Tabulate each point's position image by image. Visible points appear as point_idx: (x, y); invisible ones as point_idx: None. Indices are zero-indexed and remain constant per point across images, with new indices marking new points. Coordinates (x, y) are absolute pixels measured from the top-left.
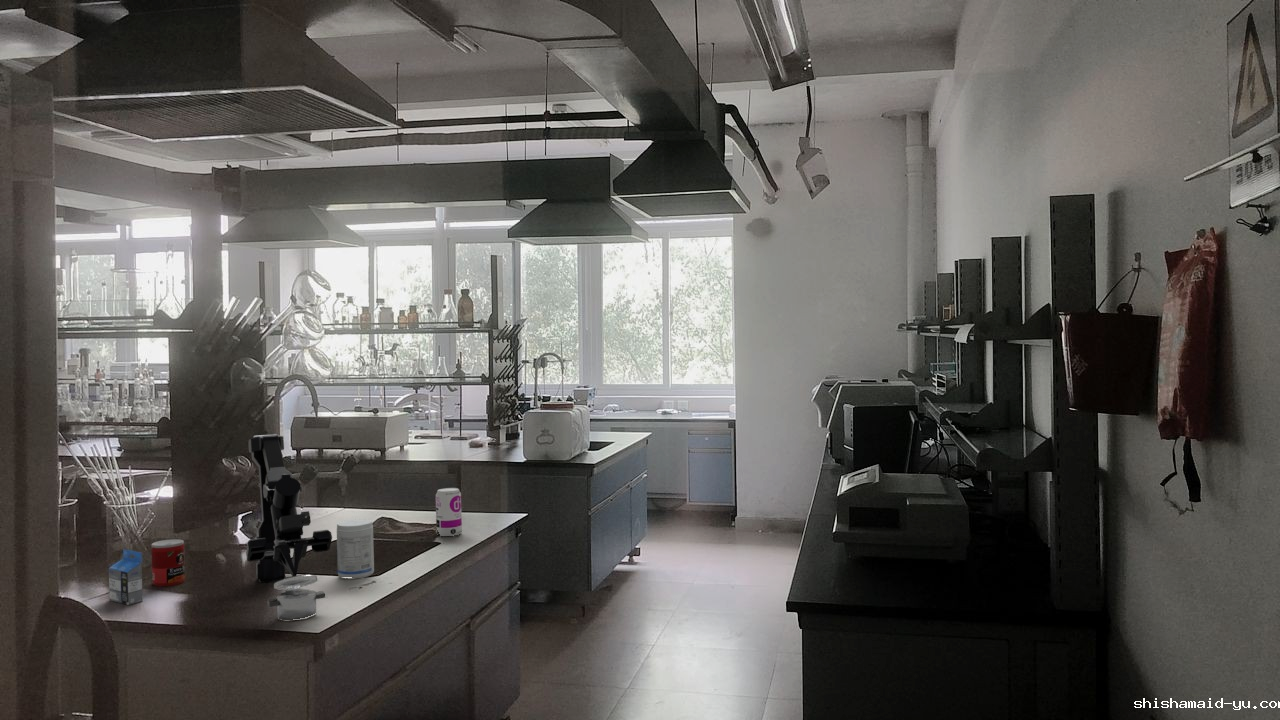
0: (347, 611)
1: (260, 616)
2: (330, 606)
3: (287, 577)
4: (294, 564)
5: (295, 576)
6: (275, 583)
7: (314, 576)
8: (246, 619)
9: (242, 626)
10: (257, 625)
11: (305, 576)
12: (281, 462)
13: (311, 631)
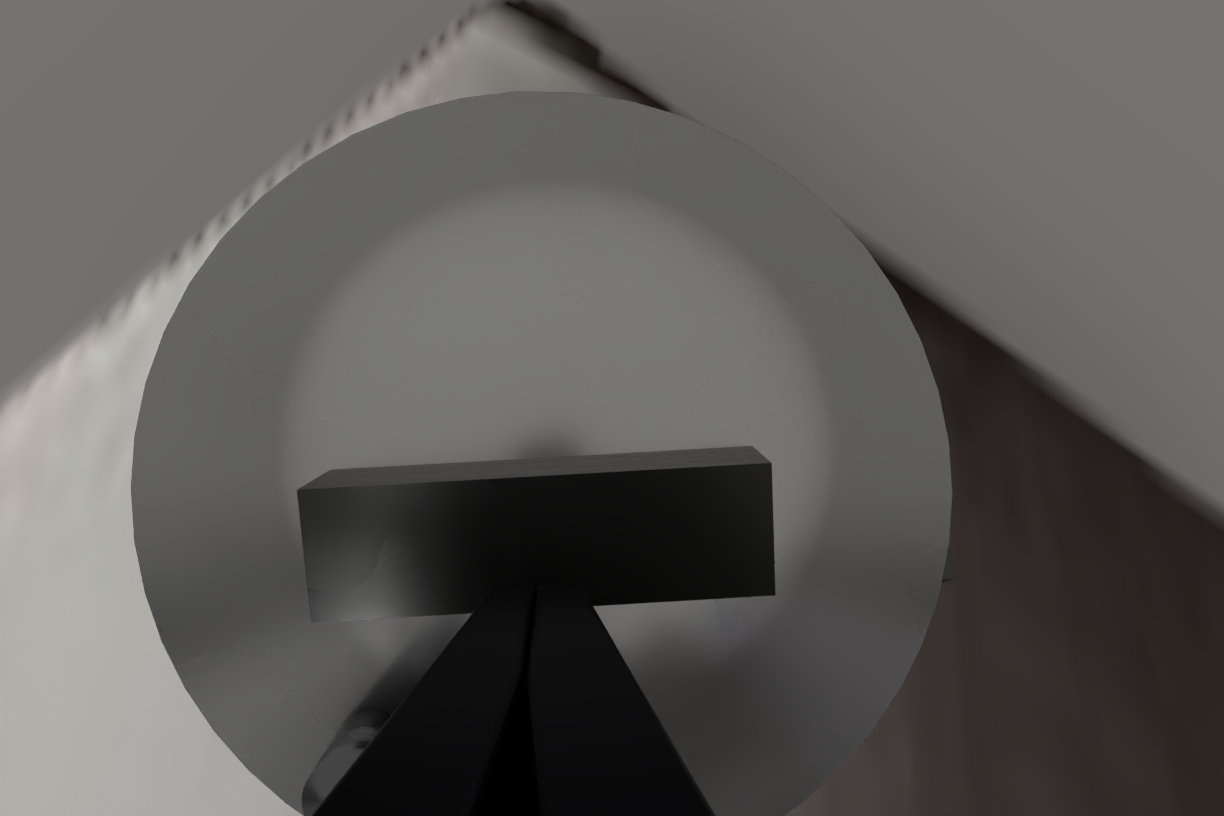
0: (109, 429)
1: (953, 771)
2: (187, 730)
3: (712, 464)
4: (486, 761)
5: (543, 473)
6: (933, 390)
7: (207, 275)
8: (1098, 735)
9: (1103, 488)
10: (960, 442)
11: (390, 129)
12: None
13: (531, 52)
